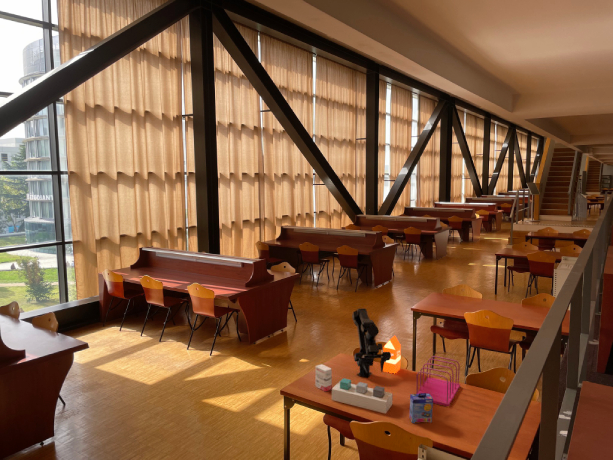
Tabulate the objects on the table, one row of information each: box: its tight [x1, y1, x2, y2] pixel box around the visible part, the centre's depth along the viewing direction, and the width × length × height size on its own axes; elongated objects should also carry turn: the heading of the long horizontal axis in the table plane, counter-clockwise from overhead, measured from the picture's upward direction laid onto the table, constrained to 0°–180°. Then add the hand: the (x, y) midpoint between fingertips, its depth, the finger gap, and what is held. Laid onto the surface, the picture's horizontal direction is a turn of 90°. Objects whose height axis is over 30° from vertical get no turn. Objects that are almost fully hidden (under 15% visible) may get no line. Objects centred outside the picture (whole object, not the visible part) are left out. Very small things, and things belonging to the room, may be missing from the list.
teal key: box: [339, 377, 352, 390], centre depth 248 cm, size 4×4×4 cm
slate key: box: [355, 381, 369, 394], centre depth 244 cm, size 4×4×4 cm
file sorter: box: [415, 355, 461, 407], centre depth 254 cm, size 17×25×16 cm
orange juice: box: [382, 335, 402, 375], centre depth 281 cm, size 8×9×20 cm
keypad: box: [331, 380, 393, 414], centre depth 245 cm, size 10×29×6 cm, turn 62°
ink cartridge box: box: [409, 393, 434, 424], centre depth 227 cm, size 10×6×14 cm, turn 95°
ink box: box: [314, 363, 333, 392], centre depth 260 cm, size 8×5×12 cm, turn 39°
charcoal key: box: [372, 385, 386, 398], centre depth 240 cm, size 4×4×4 cm
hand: (374, 372), depth 248 cm, fingers open, 7 cm apart
